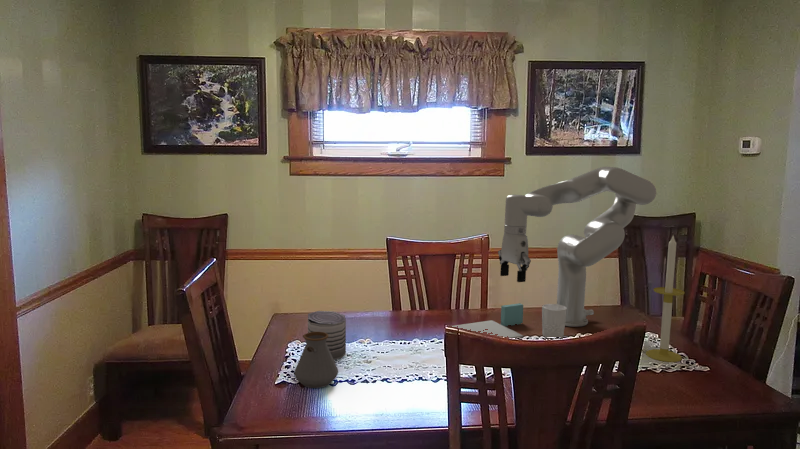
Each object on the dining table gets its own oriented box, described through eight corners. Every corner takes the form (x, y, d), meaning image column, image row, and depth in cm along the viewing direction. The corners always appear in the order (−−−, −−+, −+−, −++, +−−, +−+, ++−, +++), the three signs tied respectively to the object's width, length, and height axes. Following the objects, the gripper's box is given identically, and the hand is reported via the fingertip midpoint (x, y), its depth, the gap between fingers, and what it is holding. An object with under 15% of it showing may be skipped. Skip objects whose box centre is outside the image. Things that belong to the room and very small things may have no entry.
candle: (685, 363, 169) (696, 237, 164) (649, 360, 171) (659, 235, 166) (676, 351, 179) (686, 232, 174) (642, 348, 181) (651, 230, 176)
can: (323, 344, 181) (323, 307, 179) (353, 352, 175) (353, 313, 173) (299, 356, 171) (299, 317, 169) (330, 364, 165) (330, 323, 163)
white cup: (567, 340, 188) (569, 310, 186) (543, 339, 188) (545, 310, 187) (561, 332, 196) (563, 303, 194) (538, 332, 196) (539, 303, 194)
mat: (491, 321, 206) (491, 320, 206) (522, 337, 190) (522, 335, 190) (445, 328, 198) (445, 326, 198) (474, 345, 182) (474, 343, 182)
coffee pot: (298, 373, 158) (297, 320, 156) (340, 373, 158) (340, 320, 156) (284, 408, 137) (283, 348, 135) (332, 409, 137) (332, 348, 135)
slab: (519, 322, 207) (519, 303, 206) (522, 323, 205) (523, 304, 204) (500, 324, 203) (501, 305, 202) (503, 326, 201) (504, 307, 200)
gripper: (540, 233, 193) (536, 283, 196) (509, 226, 209) (506, 272, 211) (521, 234, 190) (518, 285, 192) (491, 227, 205) (489, 274, 208)
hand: (512, 278), depth 202 cm, fingers open, 9 cm apart
